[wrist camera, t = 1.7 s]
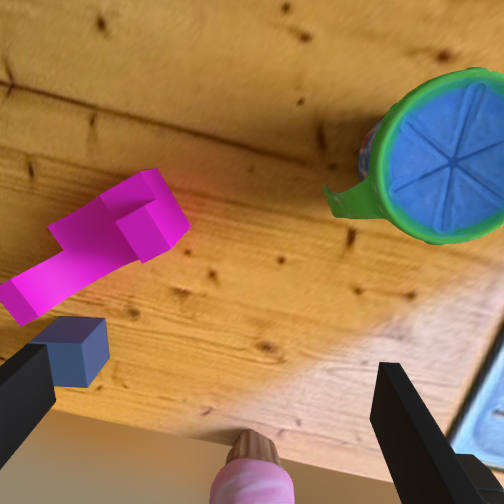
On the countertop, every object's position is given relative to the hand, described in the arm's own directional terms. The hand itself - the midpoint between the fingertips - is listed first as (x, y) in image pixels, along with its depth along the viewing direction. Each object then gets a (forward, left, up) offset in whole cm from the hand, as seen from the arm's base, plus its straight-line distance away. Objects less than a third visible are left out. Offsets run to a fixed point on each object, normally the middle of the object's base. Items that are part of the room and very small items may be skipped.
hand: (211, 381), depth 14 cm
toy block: (0, -13, -21) cm, 25 cm away
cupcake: (+26, +2, -21) cm, 33 cm away
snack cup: (-8, +14, -21) cm, 27 cm away
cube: (+12, -17, -21) cm, 29 cm away
